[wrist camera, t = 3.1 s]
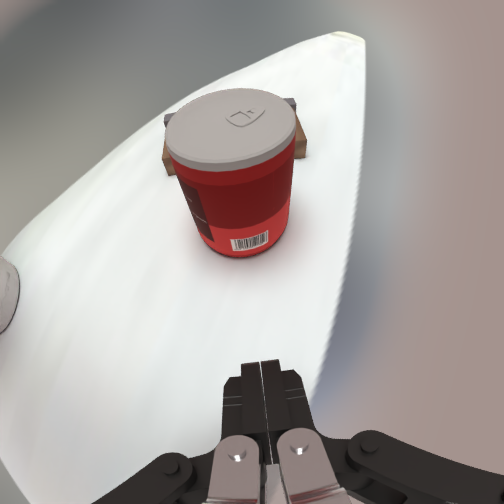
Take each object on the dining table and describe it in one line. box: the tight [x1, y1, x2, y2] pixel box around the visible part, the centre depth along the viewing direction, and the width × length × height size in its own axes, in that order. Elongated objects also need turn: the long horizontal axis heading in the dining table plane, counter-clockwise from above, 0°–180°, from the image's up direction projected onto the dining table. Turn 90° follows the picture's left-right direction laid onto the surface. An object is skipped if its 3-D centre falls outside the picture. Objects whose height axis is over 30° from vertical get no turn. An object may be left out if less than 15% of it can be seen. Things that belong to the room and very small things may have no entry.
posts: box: [164, 98, 296, 127], centre depth 30 cm, size 15×2×3 cm, turn 97°
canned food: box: [165, 88, 296, 257], centre depth 20 cm, size 8×8×11 cm
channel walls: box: [162, 108, 307, 176], centre depth 28 cm, size 14×6×2 cm, turn 97°
